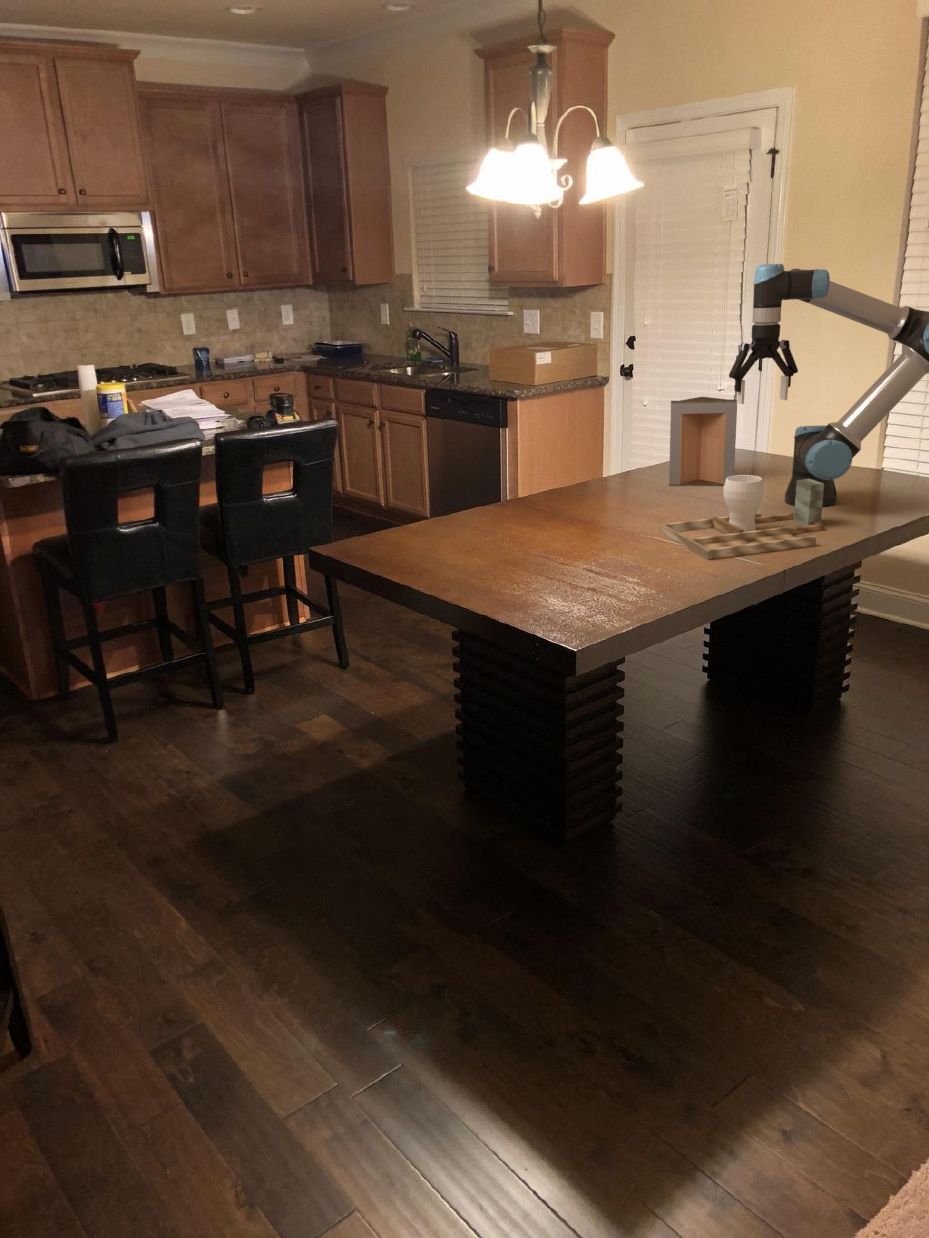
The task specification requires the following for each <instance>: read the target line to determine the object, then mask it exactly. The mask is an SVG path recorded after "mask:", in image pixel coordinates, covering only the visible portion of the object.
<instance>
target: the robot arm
mask: <svg viewBox="0 0 929 1238" xmlns="http://www.w3.org/2000/svg"><path fill="white" fill-rule="evenodd" d="M830 279H831V277H830V273H829V270H827V269H819V268H815V269H800V268H792V269H790V270H785V267H784V264H782V263H769V264H765V263H764V264H759V265H757V266H756V268H755V272H754V281H753V298H752V299H753V301H752V302H753V303H752V318H751V319H752V321H751V322H752V323H753V324H752V326H751V339H752V340H751V342H750V343H746V342H741V344H740V348H739V353H738V355H737V356H736V359H735V361H734V363H733V364H732V365H733V366H732V367H731V370H730V371H729V374H728V377H729V378H730V379H733V380H734V392H735V393H736V399H737V404H739V405H744V404H745V393H746V392H745V391H746V379H744V378H745V376H746V375H747V374H748V373H749V371H750V370H751V368H752V367H753V365H754V364H755V363H756V362H757V361H758V360H759V359H760V360H763V359H772V360H773V362H775V364H776V366H777V367H778V368H779V369H780V371H781V372H782V374H783V375H781V376H780V390H779V400H783V401H787V400H788V396H789V394H788V392H789V388H791V384H792V380H791V379H792V377H793V376H794V375H795V374H797V373H798V372H799V369H798V367H797V364H796V360H795V359H794V356H793V353H792V351H791V349H790V348H791V347H790V340H788V339H782V340H779V339H780V335H781V334H780V333H781V324H780V322H781V320H782V303H783V301H789V300H790V301H791V300H799V301H801V302H804V303H807V304H810V305H812V306H814V307H816V308H820V309H823V310H825V311H828V312H831V313H833V314H835V315H837V316H841V317H842V318H846V319H849V320H851V321H853V322H856V323H858V324H861V325H863V326H866V327H870V328H871V329H875V330H877V331H880V332H882V333H885V334H886V335H887V336H888V338H889V340H892V341H895V342H898V343H899V344H900V345H901V354H900V355H898V357H897V358H896V359H895V360H894V361H893V363H891V364H890V366H889V367H888V368H887V369H886V370H885V371H884V372H883V373H882V374H881V375H880V376H879V377H878V378H877V379H876V381H874V382H873V384H872V385H871V386H870V387H869V388H868V389H867V390H866V391H865V392H864V393H863V394H862V395H861V397H859V399H858V400H857V401H855V403H854V404H853V405H852V406H851V407H850V408H849V409H848V410H847V412H845V413H844V415H843V416H842V417H841V418H839V420H838V421H835V422H829V423H828V424H827V425H803V426H802V425H801V426H798V427H797V428H795V431H794V432H795V433H794V436H793V439H794V443H793V445H794V446H793V458H792V459H793V460H792V471H791V472H792V473H791V474H792V475H791V477H790V481H789V483H788V485H787V488H786V491H785V492H784V502H785V503H786V504H788V505H793V506H795V498H796V483H797V480H803V479H812V480H815V481H817V482H820V483H823V484H824V490H823V502H822V508H823V507H829V506H833V505H835V504H837V502H838V492H837V490H836V489H837V488H836V484H835V480H837V479H838V478H841V477H843V476H844V475H845V474H846V473H847V472H848V470H849V469H850V467H851V465H852V463H853V459H854V458H855V456H856V455H857V454H859V452H860V451H861V450H862V442H863V441H864V440H865V438H866V437H867V436H868V435H869V434H870V433H871V432H872V431H873V430H874V429H875V428H876V426H878V425H879V424H880V422H881V421H882V420H883V419H884V418H885V417H886V416H887V415H888V414H889V413H890V412H891V411H892V410H893V409H894V408H895V407H896V406H897V405H898V404H899V403H900V401H902V400H903V398H905V396H907V394H908V393H909V392H910V391H911V390H913V388H914V387H915V386H916V385H917V384H918V383H919V382H920V381H921V380H922V379H923V378H924V376H926V375H927V374H929V311H927V310H921V309H916V308H913V307H910V306H908V305H905V306H902V307H900V306H897V305H895V304H892V303H889V302H886V301H884V300H881V299H878V298H876V297H873V296H871V295H869V294H866V293H863V292H861V291H857V290H855V289H853V288H850V287H847V286H845V285H843V284H839V283H837V282H834V281H832V280H830ZM779 348H780V349H781V353H782V354H783V357H784V359H783V358H782V356H781V354H780V353H779V351H778V350H779ZM750 351H751V352H750ZM749 352H750V353H749ZM748 353H749V355H748ZM747 356H748V358H747ZM746 358H747V359H746ZM784 360H785V361H784Z"/></svg>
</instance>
